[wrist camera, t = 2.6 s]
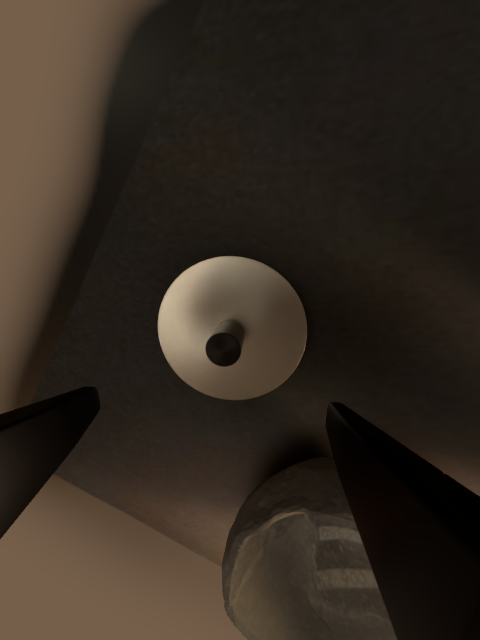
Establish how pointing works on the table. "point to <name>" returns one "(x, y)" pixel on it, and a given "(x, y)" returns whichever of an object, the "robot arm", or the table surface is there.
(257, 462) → the table surface
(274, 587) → the bowl
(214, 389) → the lid
